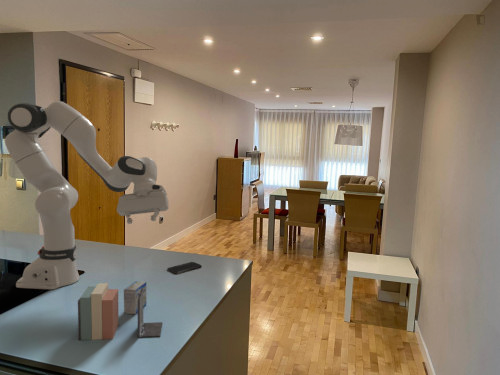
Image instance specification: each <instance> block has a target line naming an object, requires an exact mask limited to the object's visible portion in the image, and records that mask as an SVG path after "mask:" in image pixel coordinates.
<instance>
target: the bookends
mask: <svg viewBox="0 0 500 375" xmlns="http://www.w3.org/2000/svg"><path fill="white" fill-rule="evenodd" d="M77 322H78V324H77V327H78V328H77V332H78V341H82V340H81V317H80V298H79V299H78V300H77ZM162 328H163V322H162V321H161V322H160V321H159V322H157V321H156V322H144V307H143V288H141V291H140V294H139V297H138V313H137V338H158V337H159V338H160V337H161V334H162Z"/></svg>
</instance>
